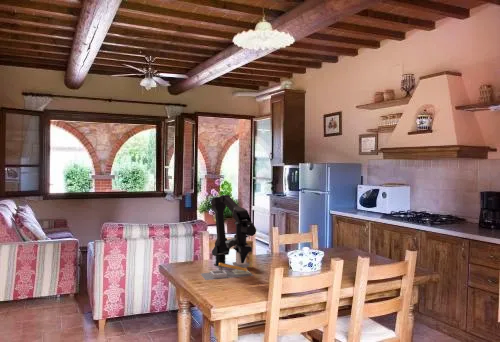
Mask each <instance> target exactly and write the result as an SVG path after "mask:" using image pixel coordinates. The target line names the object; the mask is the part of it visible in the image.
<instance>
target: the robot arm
mask: <svg viewBox="0 0 500 342" xmlns="http://www.w3.org/2000/svg"><path fill="white" fill-rule="evenodd" d="M210 205H211V210H212V211H213V213H214V216H215V218H214V219H215V226H216V228H215V229H216V239H215V242H214V247H213V249H212V251H211V255H212V256H214V257H215V263H213V265H214V266H215V267H219V263H224V264H226V256H229V254H230V250H231V248H232V249H233V250H234V251H235V253H236V252H239V253H240V257H241V263H244V261H245V259H246V256H247V255H248V253H249V252H252V248H251V247H250V246H249V245H248V243H246V240H247V238H248V237H253V236H255V235H256V233H257V228H256V226H255V225H254V222H253V221H252V218H251V216H250V213H249V212H248V210H247V209H245V208H244V207H241V206H239V204H238V203H236V201H235V200H233V198H232V197H231V195H229V194H222V195H219V196H216V197H213V198H212V199H211V200H210ZM226 208H227V209H228V210H229V211H230V212H231V213H232V217H233V219H234V223H233V224H234V225H235V234H234V236H233V237H232V238H229V239H228V238H227V236H226V225H225V216H224V212H225V209H226Z"/></svg>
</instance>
